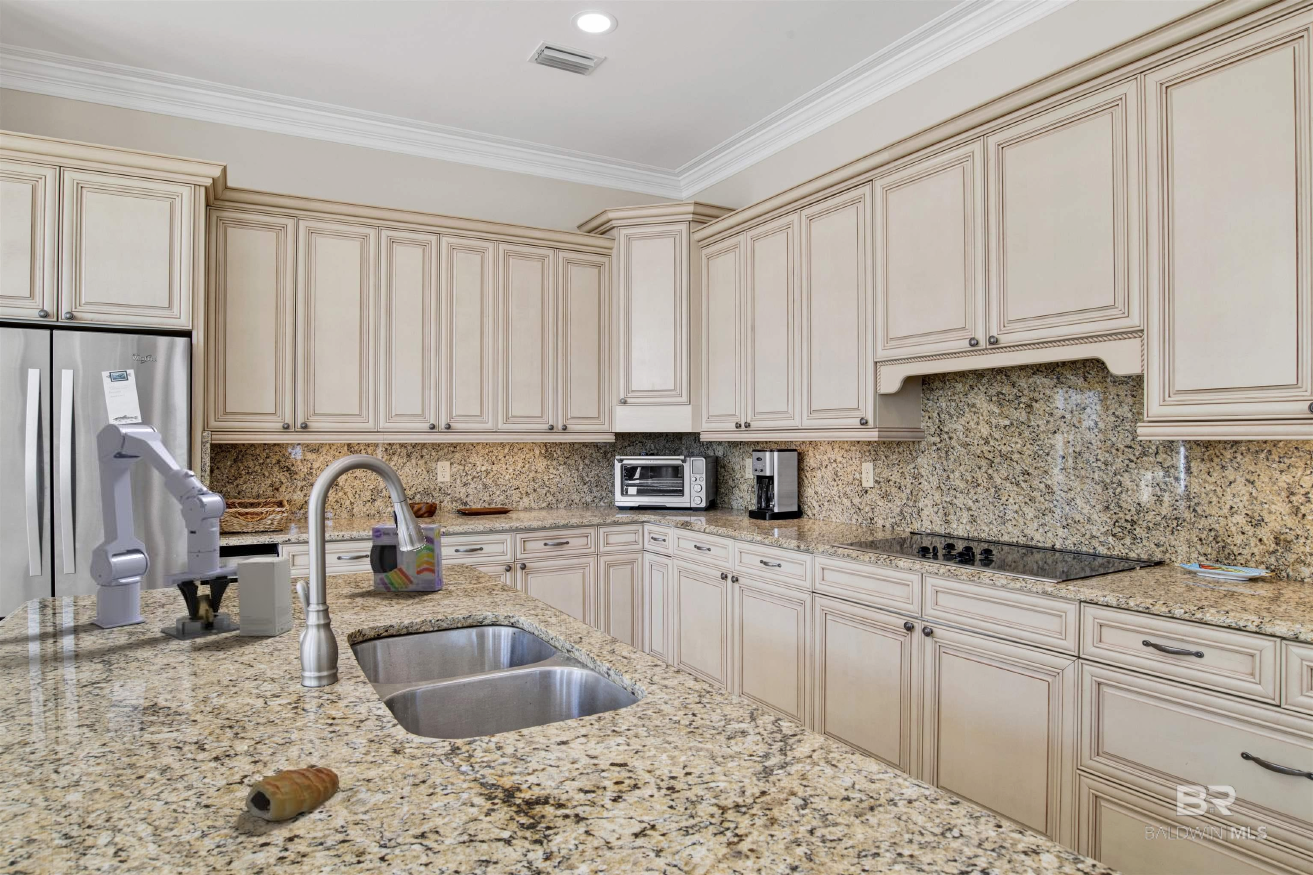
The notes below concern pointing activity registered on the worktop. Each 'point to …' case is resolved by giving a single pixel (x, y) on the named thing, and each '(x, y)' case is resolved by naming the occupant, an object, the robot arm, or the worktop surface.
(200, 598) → the gold metal block
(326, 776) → the pastry
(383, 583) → the cake pan box
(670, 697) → the worktop surface
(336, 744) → the worktop surface
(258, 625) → the skincare box
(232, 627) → the hub plate
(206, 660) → the worktop surface
